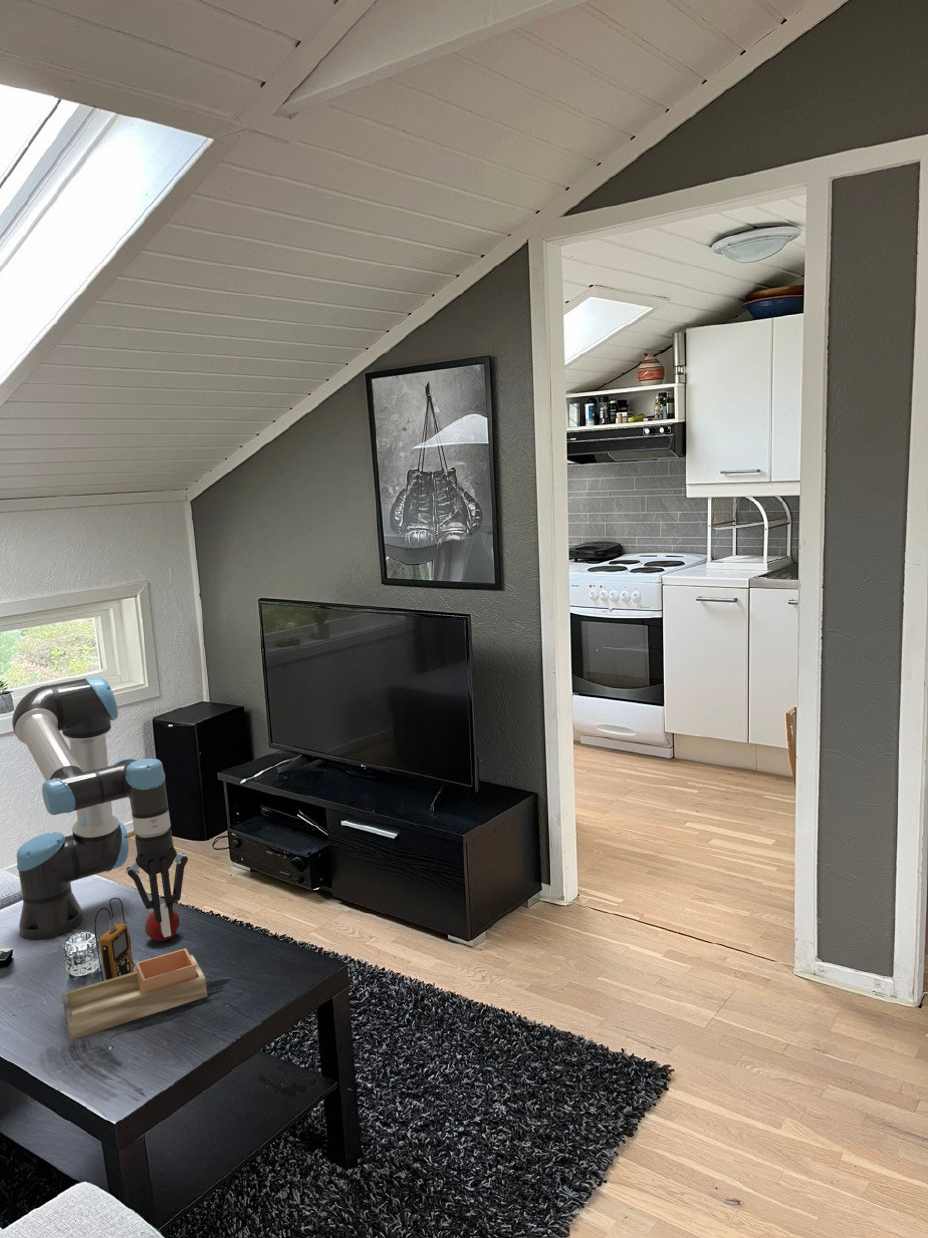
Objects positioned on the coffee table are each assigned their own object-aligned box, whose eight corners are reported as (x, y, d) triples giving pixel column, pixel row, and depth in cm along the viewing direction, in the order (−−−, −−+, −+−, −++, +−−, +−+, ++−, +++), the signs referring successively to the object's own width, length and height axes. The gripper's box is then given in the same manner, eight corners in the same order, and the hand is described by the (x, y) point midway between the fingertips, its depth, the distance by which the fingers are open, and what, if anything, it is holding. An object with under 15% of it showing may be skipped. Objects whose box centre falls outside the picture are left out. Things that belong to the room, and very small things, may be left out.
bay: (64, 1012, 207) (61, 993, 206) (194, 972, 220) (192, 954, 219) (71, 1040, 196) (68, 1020, 196) (207, 996, 209) (205, 977, 208)
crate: (138, 988, 212) (135, 963, 211) (188, 972, 217) (185, 948, 216) (146, 1007, 205) (143, 981, 204) (198, 990, 210) (195, 965, 209)
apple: (179, 944, 234) (175, 913, 233) (144, 949, 233) (140, 918, 231) (183, 929, 241) (179, 900, 240) (150, 934, 240) (146, 904, 239)
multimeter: (137, 1004, 209) (126, 919, 206) (96, 1002, 211) (84, 917, 208) (171, 969, 223) (160, 888, 220) (132, 967, 225) (121, 887, 222)
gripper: (124, 844, 199) (138, 950, 203) (187, 829, 205) (200, 932, 209) (118, 833, 206) (132, 936, 209) (179, 819, 212) (192, 919, 215)
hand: (166, 934), depth 209 cm, fingers closed
